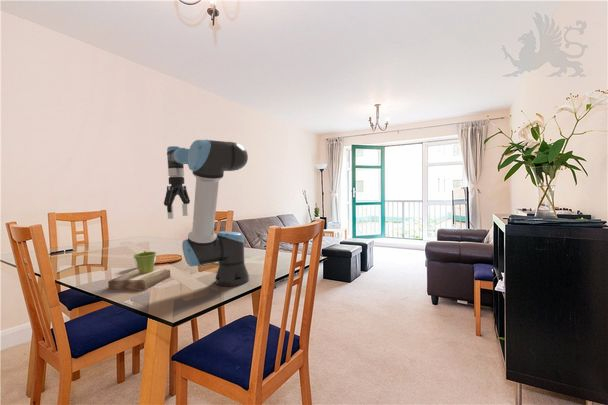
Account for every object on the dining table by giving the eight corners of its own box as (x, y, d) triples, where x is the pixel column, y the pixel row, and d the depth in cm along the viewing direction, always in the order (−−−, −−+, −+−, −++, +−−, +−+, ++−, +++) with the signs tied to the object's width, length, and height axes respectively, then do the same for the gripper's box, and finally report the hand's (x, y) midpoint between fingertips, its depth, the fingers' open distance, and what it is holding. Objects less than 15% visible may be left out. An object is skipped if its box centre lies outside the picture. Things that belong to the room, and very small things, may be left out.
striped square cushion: (170, 276, 142) (169, 268, 141) (145, 290, 124) (145, 281, 124) (137, 275, 144) (137, 268, 144) (108, 288, 126) (108, 280, 126)
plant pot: (148, 275, 132) (146, 256, 131) (130, 274, 134) (129, 256, 133) (161, 269, 141) (160, 251, 141) (144, 268, 143) (143, 251, 142)
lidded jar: (160, 265, 164) (159, 249, 163) (148, 270, 153) (147, 253, 152) (143, 265, 165) (142, 249, 164) (129, 270, 154) (128, 253, 153)
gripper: (182, 177, 161) (184, 214, 162) (154, 176, 136) (156, 220, 138) (195, 177, 160) (197, 214, 161) (168, 175, 135) (171, 220, 137)
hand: (178, 217), depth 150 cm, fingers open, 13 cm apart
